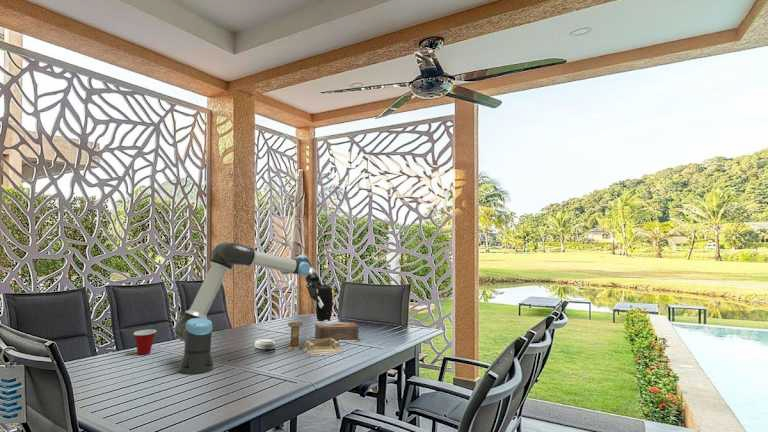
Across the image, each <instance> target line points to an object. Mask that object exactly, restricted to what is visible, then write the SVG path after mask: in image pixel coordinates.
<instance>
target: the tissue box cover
mask: <svg viewBox="0 0 768 432" xmlns="http://www.w3.org/2000/svg"><path fill="white" fill-rule="evenodd" d="M314 326H315V329H314V339H315V338H316V339H322V338H333V339H334V340H336V341H339V340H358V341H359V325H358V324H357V323H355V322H353V321H352V322H351V321H349V322H348V321H347V322H346V321H343V322H319V323H317V322H315V325H314Z"/></svg>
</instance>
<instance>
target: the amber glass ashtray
mask: <svg viewBox="0 0 768 432" xmlns="http://www.w3.org/2000/svg"><path fill="white" fill-rule="evenodd" d="M340 343H341V342H338V341H336V340H334V339H333V338H322V339H315V338H310V339H304V341H303V346H302V348H303V349H304V350H305V351H306V352H308V353H309V354H310V355H319V354H332V353H340V352H343V353H344V350H342V349H341V348H340V345H341V344H340ZM302 348H301V349H302ZM304 350H303V351H304ZM305 351H304V352H305ZM306 352H305V353H306Z"/></svg>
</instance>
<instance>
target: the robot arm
mask: <svg viewBox="0 0 768 432" xmlns="http://www.w3.org/2000/svg"><path fill="white" fill-rule="evenodd" d="M209 265H210V267H209V269H208V272H207V274H206V275H205V278H204V280H203V282H202V284H201V285H200V288H199V290H198V292H197V294H196V296H195V298H194V300H193V303H192V304H191V305H190V308H189V309H188V310H186V311H185V312H184V313H183V316H182V317H181V318H179V319H177V321H176V323H175V325H174V334H175V336H176V337H177V339H178V340H180V341H181V342H184V353H183V356H182V359H181V361H180V363H179V367H178V372H179V373H181V374H185V375H194V374H196V375H197V374H203V373H208V372H211V371H212V370H214V367H215V366H214V364H215V362H214V360H213V356H212V338H213V337H212V336H213V322H212V320H210V319H208V317H207V315H208V313H209V311H210V308H211V306H212V304H213V302H214V300H215V298H216V296H217V294H218V291H219V289H220V287H221V285H222V284H223V281H224V279H225V277H226V274H227V273H228V272H230V271H232V269H233V267H234V266H235V265H236V266H246V267H247V266H248V267H250V266H255V267H257V266H258V267H261V268H267V269H272V270H276V271H279V272H280V274H281V275H288V274H292V275H293V274H294V275H300V276H303V278H304V280H305V281H306V285H305V287H306V289H307V291H308V293H309V297H310V298H311V299H312V300H313V301H315V302H317V303H318V305H319V307H320V308H322V307H323V306H324V304H323V303H322V301H321V299H320V298H319V296H318V297H317V293H318V287H319V286H320V287H324V286H328V285H327V283H326V282H325V281H320V276H319V275H318V274H317V271H316V270H315V268H314V267H313V265H312V263H311V262H310V259H309V257H307V255H306V254H300V255H297V256H296V257H295V259H293V258H292V259H291V258H288V257H283V256H280V255H275V254H271V253H267V252H262V251H258V250H255V248H253V247H249V246H246V245H243V244H241V243H238V242H229V241H226V242H225V241H224V242H220V243H218V244H216V245H215V246H214V247H213V249H212V252H211V259H210V261H209ZM333 294H334V293H333V292H332V295H333ZM335 306H336V302H335V300H334V299H333V302H332V308H333V307H335Z"/></svg>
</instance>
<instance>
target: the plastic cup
mask: <svg viewBox="0 0 768 432" xmlns="http://www.w3.org/2000/svg"><path fill="white" fill-rule="evenodd" d="M156 332H157V330H156V329H153V328H152V329H151V328H149V329H141V330H137V331H135V332H133V335H134V338H135V339H134V340H135V344H136V351H137V355H138V356H145V355H147V356H148V355H149V354H151V350H152V347H153V342H154V339H155V335H156Z"/></svg>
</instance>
